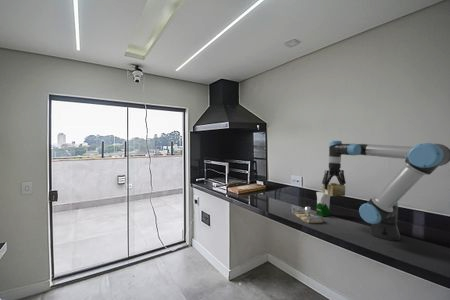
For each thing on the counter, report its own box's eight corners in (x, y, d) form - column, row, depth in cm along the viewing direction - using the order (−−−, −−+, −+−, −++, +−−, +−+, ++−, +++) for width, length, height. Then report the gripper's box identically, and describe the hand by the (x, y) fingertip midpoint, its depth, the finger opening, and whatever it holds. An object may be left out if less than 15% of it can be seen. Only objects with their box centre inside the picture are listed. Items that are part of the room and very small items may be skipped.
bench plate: (322, 222, 150) (322, 220, 150) (307, 223, 148) (307, 221, 148) (307, 213, 169) (307, 211, 169) (293, 214, 167) (293, 212, 167)
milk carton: (331, 215, 165) (332, 191, 164) (323, 217, 161) (323, 191, 160) (322, 212, 173) (323, 188, 172) (314, 213, 169) (314, 189, 169)
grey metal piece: (321, 220, 150) (321, 210, 150) (309, 221, 148) (309, 211, 148) (306, 211, 169) (306, 203, 169) (294, 212, 167) (295, 203, 166)
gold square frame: (344, 195, 143) (345, 185, 143) (332, 196, 141) (332, 186, 141) (334, 192, 153) (334, 182, 152) (322, 192, 151) (322, 183, 150)
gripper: (344, 162, 152) (343, 192, 153) (317, 162, 147) (315, 193, 148) (352, 163, 145) (351, 194, 145) (324, 163, 140) (322, 195, 141)
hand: (333, 193), depth 147 cm, fingers closed on gold square frame, 10 cm apart
